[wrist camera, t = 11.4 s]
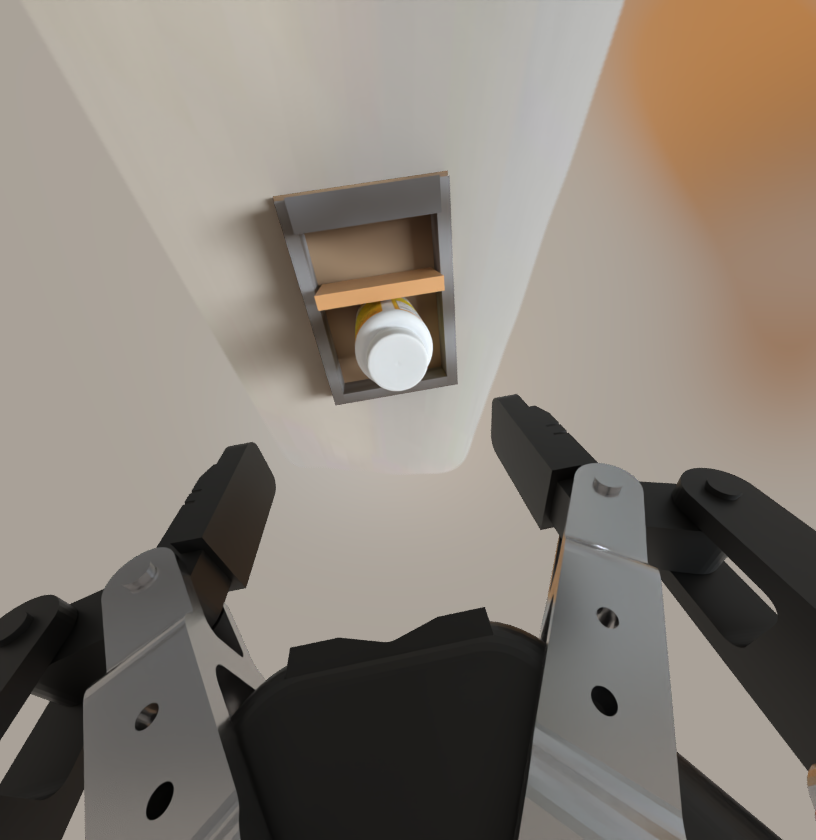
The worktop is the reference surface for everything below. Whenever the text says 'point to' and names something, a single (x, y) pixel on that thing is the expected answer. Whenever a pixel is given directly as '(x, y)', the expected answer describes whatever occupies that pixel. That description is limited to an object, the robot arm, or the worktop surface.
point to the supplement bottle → (392, 343)
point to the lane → (373, 266)
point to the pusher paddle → (379, 288)
